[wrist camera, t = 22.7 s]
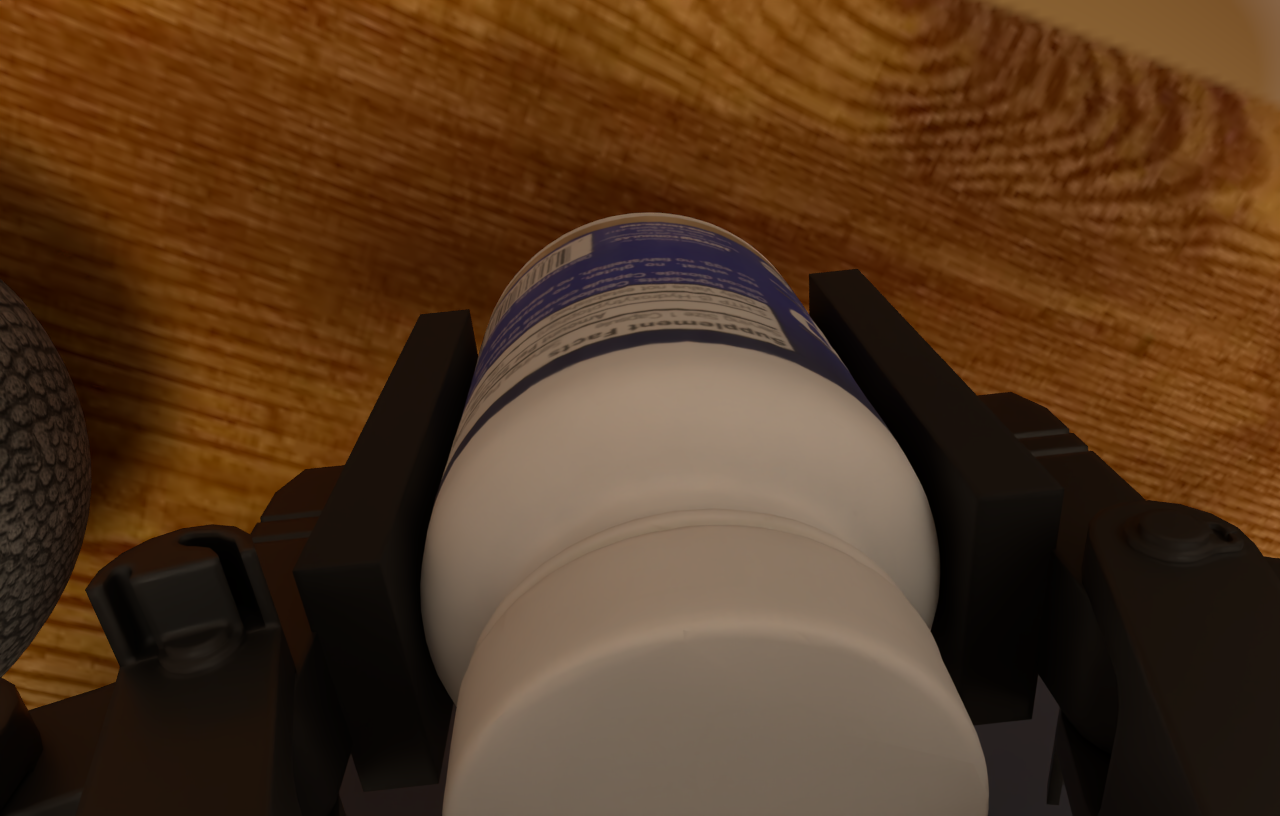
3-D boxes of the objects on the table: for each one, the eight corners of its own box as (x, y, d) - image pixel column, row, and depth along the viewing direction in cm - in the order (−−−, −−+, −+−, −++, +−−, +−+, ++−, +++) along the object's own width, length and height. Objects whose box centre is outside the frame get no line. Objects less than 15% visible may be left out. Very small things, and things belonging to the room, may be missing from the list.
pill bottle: (819, 477, 15) (1067, 1011, 7) (524, 528, 16) (456, 1107, 8) (791, 173, 13) (1110, 473, 5) (444, 236, 13) (225, 624, 5)
